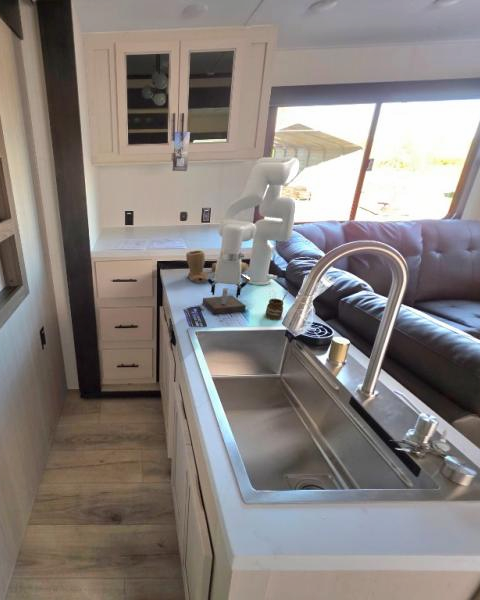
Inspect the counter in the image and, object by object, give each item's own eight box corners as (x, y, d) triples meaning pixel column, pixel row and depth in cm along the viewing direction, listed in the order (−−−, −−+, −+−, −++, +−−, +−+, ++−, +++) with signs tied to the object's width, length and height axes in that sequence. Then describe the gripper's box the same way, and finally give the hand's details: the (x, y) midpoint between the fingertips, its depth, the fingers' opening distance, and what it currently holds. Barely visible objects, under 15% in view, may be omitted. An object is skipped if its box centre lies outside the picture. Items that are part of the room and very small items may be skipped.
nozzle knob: (222, 298, 136) (223, 287, 134) (226, 299, 135) (227, 287, 133) (221, 304, 130) (222, 292, 128) (225, 304, 130) (227, 292, 128)
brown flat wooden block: (231, 301, 140) (232, 294, 139) (244, 312, 130) (245, 305, 129) (202, 304, 138) (202, 297, 136) (213, 315, 128) (214, 308, 126)
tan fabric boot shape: (183, 274, 174) (185, 247, 168) (205, 274, 173) (208, 248, 167) (186, 284, 160) (188, 255, 154) (210, 284, 160) (213, 255, 154)
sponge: (212, 278, 172) (251, 273, 167) (211, 264, 170) (250, 258, 165) (212, 274, 184) (248, 269, 179) (210, 261, 183) (246, 256, 178)
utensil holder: (266, 312, 130) (271, 285, 125) (282, 315, 127) (288, 288, 122) (263, 318, 125) (269, 290, 121) (281, 321, 122) (287, 293, 118)
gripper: (252, 255, 126) (246, 294, 133) (208, 252, 131) (204, 289, 138) (253, 260, 119) (246, 301, 126) (206, 257, 124) (203, 296, 131)
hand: (225, 295), depth 132 cm, fingers open, 9 cm apart
